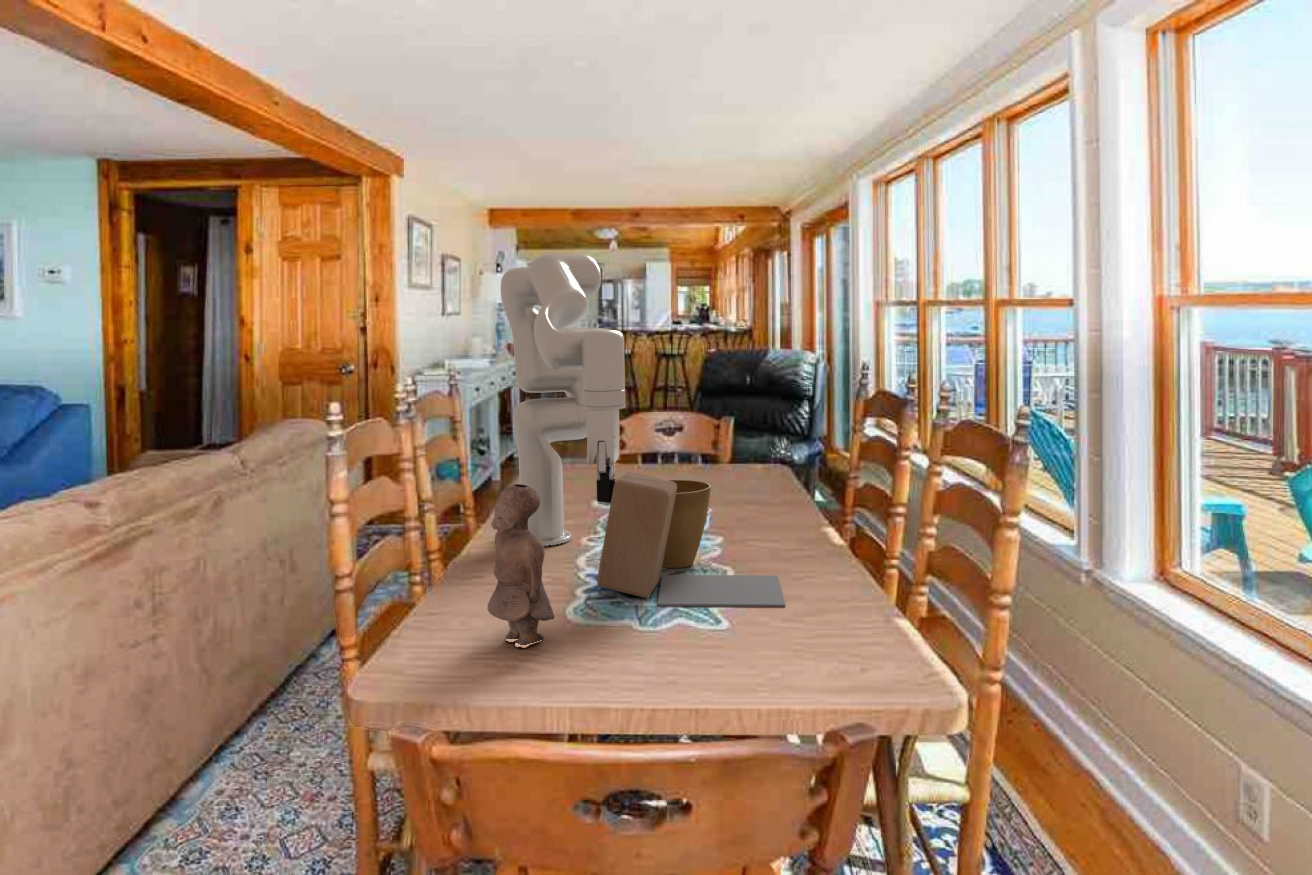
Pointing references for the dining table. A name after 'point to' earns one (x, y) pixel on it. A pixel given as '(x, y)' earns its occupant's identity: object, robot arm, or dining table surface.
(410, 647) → the dining table surface
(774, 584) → the mat
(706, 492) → the plant pot
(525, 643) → the clay figurine
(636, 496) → the block
